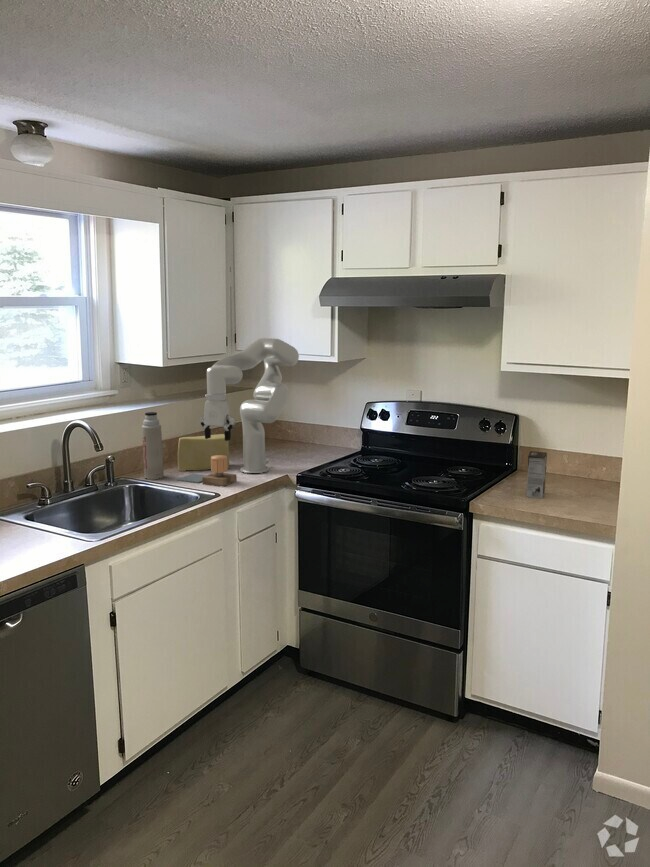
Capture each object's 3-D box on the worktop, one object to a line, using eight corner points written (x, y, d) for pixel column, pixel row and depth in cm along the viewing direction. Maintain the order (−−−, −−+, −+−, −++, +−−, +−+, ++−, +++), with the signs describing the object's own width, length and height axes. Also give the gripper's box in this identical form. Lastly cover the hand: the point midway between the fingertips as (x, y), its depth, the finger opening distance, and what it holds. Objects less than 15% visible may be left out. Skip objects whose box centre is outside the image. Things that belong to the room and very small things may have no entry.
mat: (192, 474, 312) (192, 473, 311) (213, 477, 307) (213, 476, 307) (176, 480, 302) (176, 479, 302) (198, 483, 297) (198, 481, 297)
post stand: (216, 478, 304) (215, 455, 303) (236, 481, 300) (235, 457, 298) (202, 484, 296) (201, 460, 294) (222, 486, 291) (222, 462, 289)
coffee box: (528, 491, 282) (530, 450, 279) (545, 492, 279) (547, 452, 277) (525, 497, 273) (527, 455, 271) (543, 498, 271) (545, 456, 268)
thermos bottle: (145, 480, 303) (142, 414, 298) (143, 476, 310) (139, 411, 305) (164, 478, 306) (161, 413, 300) (162, 474, 313) (159, 410, 308)
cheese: (180, 473, 315) (178, 439, 312) (176, 468, 324) (175, 436, 321) (230, 469, 322) (229, 436, 319) (225, 464, 331) (224, 432, 328)
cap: (217, 468, 301) (216, 454, 300) (230, 470, 298) (229, 455, 297) (208, 471, 295) (207, 457, 294) (221, 473, 293) (220, 459, 292)
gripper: (193, 397, 292) (194, 439, 295) (229, 399, 284) (230, 442, 287) (204, 395, 298) (205, 436, 301) (239, 397, 291) (240, 439, 294)
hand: (217, 439), depth 294 cm, fingers open, 9 cm apart
